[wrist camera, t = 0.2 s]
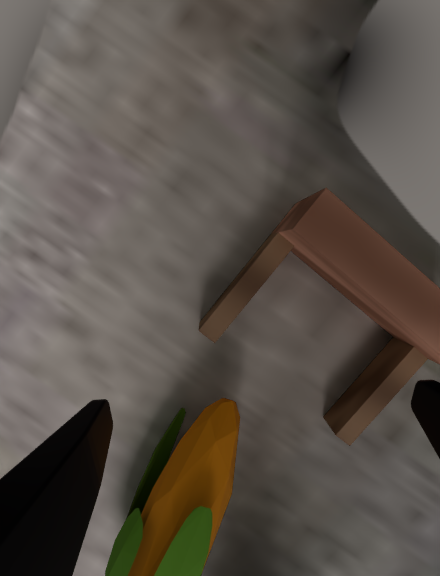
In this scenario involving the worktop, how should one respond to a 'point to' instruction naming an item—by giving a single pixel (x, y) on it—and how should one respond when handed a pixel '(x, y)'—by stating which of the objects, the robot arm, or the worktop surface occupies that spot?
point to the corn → (180, 498)
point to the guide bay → (358, 289)
